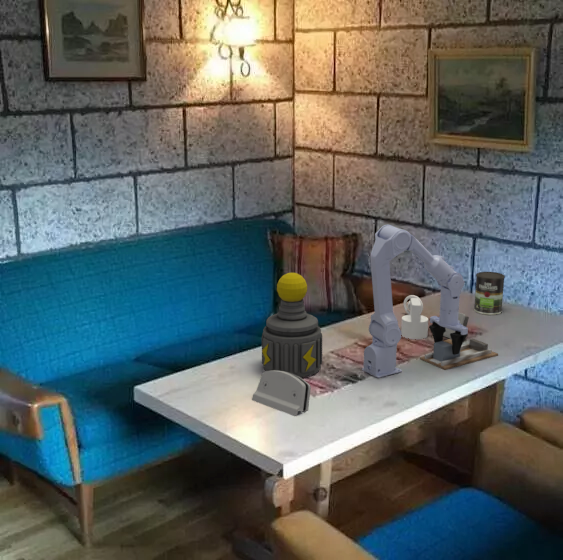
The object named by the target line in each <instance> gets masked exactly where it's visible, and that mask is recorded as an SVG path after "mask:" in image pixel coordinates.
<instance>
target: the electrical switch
mask: <svg viewBox="0 0 563 560" xmlns="http://www.w3.org/2000/svg"><path fill="white" fill-rule="evenodd" d="M469 318H470V317H469V316H467V315H466V314H465V313H462V312H459V315H458V320H459V321H460V324H462V325H463V326H465V327H467V326H468V322H469ZM467 328H468V327H467ZM454 332H455V331H454V330H451V329H448V328H446V327H445V330H444V334H443V337H445V338H448V339H451V336H450V333H454Z"/></svg>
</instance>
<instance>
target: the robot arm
mask: <svg viewBox="0 0 563 560" xmlns="http://www.w3.org/2000/svg"><path fill="white" fill-rule="evenodd" d="M374 237H375V241H374V243H373V247H372V249H371V253H370V257H369V258H370V269H371V283H372V295H373V296H372V297H373V305H374V306H373V308H374V313H373V314H371V315H370V323H369V325H368V331H369V334H370V336H371V337H372V343H371V344H370V345H367V346H366V347H365V348H364V350H363V367H362V368H361V370H362V371H363V372H365V373H367V374H369V375H371V376H373V377H375V378H378V379H380V378H383V377H386V376H391V375H394V374H398V373H402V372H403V370H402V369H400V368H399V367H397V350H398V349H397V346H398V344H399V342H400V341H401V339H402V336H401V335H402V333H401V327H399V321H398V319H397V317H396V315H395V313H394V306H393V293H392V292H393V291H392V280H391V279H392V277H391V276H392V275H391V264H390V262H391V261H392V260H393V259H395V257H397V256H399V255H400V254H402V253H403V252H405V251H409V252H411V253H412V254H413V255H415V256H416V257H417V258H418V259H419V260H420V261H422V262H423V263H424V270H425V271H427V273H428V274H430V275H431V276H432V277H433V278H434V279H435V280H436V282H437V284H438V285H439V286H440V301H439V316H437V315H433V316H430V317H429V323H430V325H428V329H429V330H430V332H431V334H432V337H433V342H434V343H436V342H440V341H444V336H443V334H444V330H445V327H446V328H448V329H451V330H454V331H455V332H454V333H450V336H451V339H452V353H453V355H456V354H459V352H460V349H461V346H462V345H463V343H464V342H465V340H466V338H467V337H468V335H469V333H468V331H469V327H465V326H463V325H462V324H460V321H459V320H458V315H459V313H460V297H461V293H462V289H463V288H464V286H465V280H464V278H463V275H462V274H461V273H459V272H458V271H455V270H454V269H455V267H454V266H453V265H449V264H448V263H447V262H446V261H445V257H444V256H442V255H438V254H432V253H431V252H430V251H429V250H428V249H427V248H426V247H425V246H424V245H423V244H422V243H421V242H420V241H419V239H417V238H416V237H415V235H413V234H411V233H410V232H409V231H408V230H406V229H404V228H403V229H402V228H400V227H396V226H394V225H392V224H384V225H382V226H381V227H380V228H379V229H378V230H377V231H376V232H375V234H374Z"/></svg>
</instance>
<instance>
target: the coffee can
mask: <svg viewBox="0 0 563 560" xmlns="http://www.w3.org/2000/svg"><path fill="white" fill-rule="evenodd" d="M475 277H476V279H475V294H474V307H473V311H474V312H475V313H477V314H481V315H485V316H486V315H487V316H495V315H496V314H497V315H499V314H502V313H501V312H503V310H502V309H503V299H504V298H503V297H504V285H505V277H506V276H505V274H504V273H500V272H495V271H479V272H477V273H476V274H475Z"/></svg>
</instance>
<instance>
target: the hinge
mask: <svg viewBox="0 0 563 560" xmlns="http://www.w3.org/2000/svg"><path fill="white" fill-rule="evenodd" d="M310 396H311V385H310V384H309V383H308V382H307V381H306V380H305V379H303V377H302V378H300V377H298V376H296V375H294V374H292V373H289V372H285V371H276V370H273V371H266V370H265V371H263V372H262V373H261V376H260V379H259V382H258V385H257V388H256V391H254V392H253V394H252V397H251V401H254V402H256V403H259V404H261V405H264V406H266V407H269V408H273V409H275V410H277V411H281V412H282V413H285V414H287V415H288V414H289V415H291V416H294V417H297V416H298V412H308V411H309V405H310V399H311V398H310Z"/></svg>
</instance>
